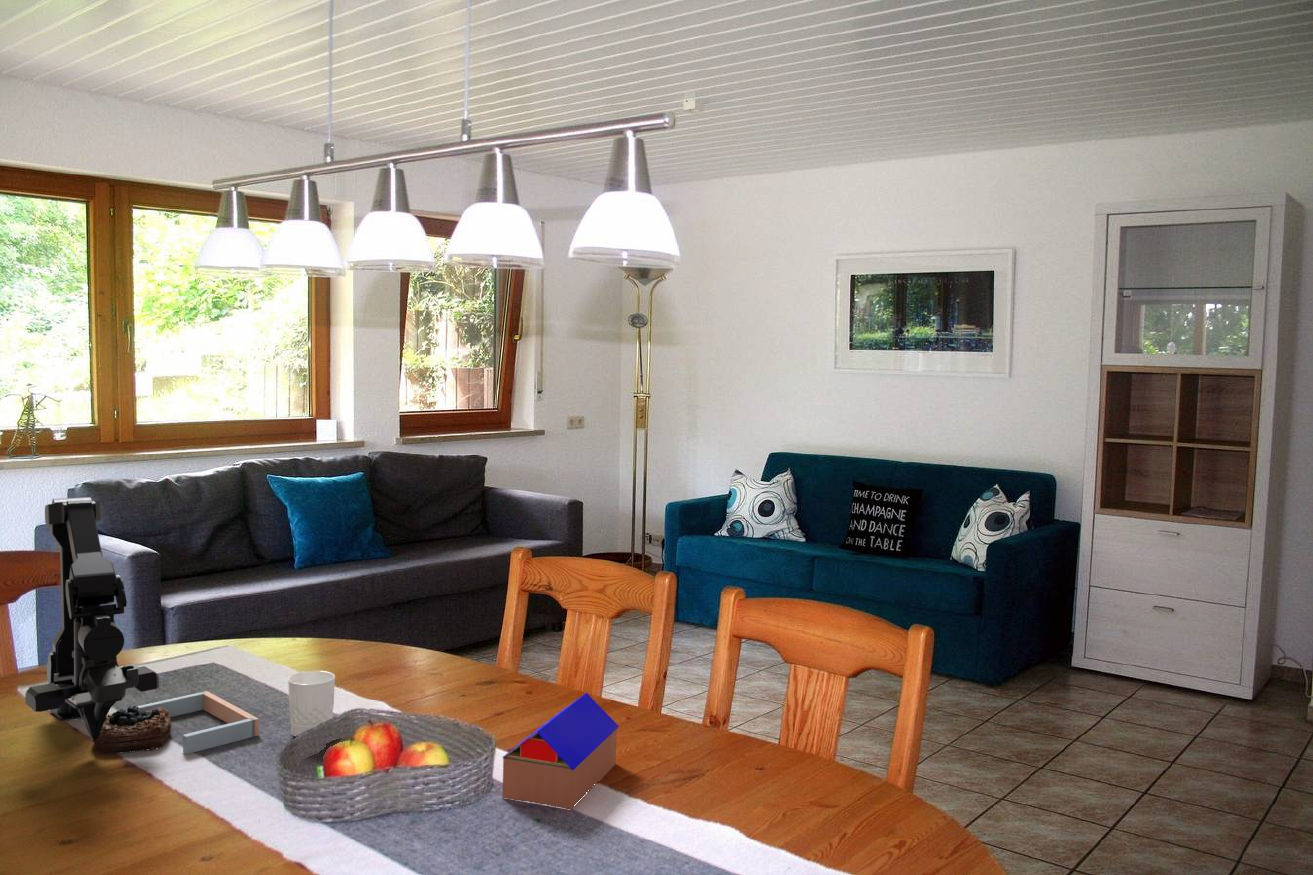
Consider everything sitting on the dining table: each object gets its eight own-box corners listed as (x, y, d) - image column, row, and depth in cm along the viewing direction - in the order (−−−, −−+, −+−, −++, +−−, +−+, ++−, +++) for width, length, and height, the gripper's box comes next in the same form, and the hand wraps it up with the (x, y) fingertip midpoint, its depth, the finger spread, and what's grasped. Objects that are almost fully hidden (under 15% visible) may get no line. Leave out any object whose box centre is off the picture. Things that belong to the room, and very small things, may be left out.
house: (499, 800, 158) (501, 726, 157) (552, 754, 177) (554, 687, 176) (571, 813, 155) (573, 737, 154) (618, 764, 174) (619, 697, 173)
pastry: (168, 749, 174) (167, 715, 174) (87, 757, 170) (87, 722, 169) (173, 727, 184) (173, 695, 184) (98, 734, 180) (97, 701, 180)
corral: (137, 722, 186) (137, 706, 185) (206, 706, 195) (206, 690, 195) (186, 754, 172) (186, 736, 172) (258, 735, 181) (258, 718, 181)
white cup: (320, 742, 179) (320, 686, 178) (279, 737, 180) (279, 681, 180) (342, 726, 187) (343, 672, 186) (303, 722, 188) (303, 668, 187)
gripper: (46, 667, 157) (47, 767, 158) (172, 646, 171) (172, 738, 172) (23, 652, 165) (24, 747, 166) (145, 632, 179) (146, 721, 180)
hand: (94, 738), depth 171 cm, fingers closed
